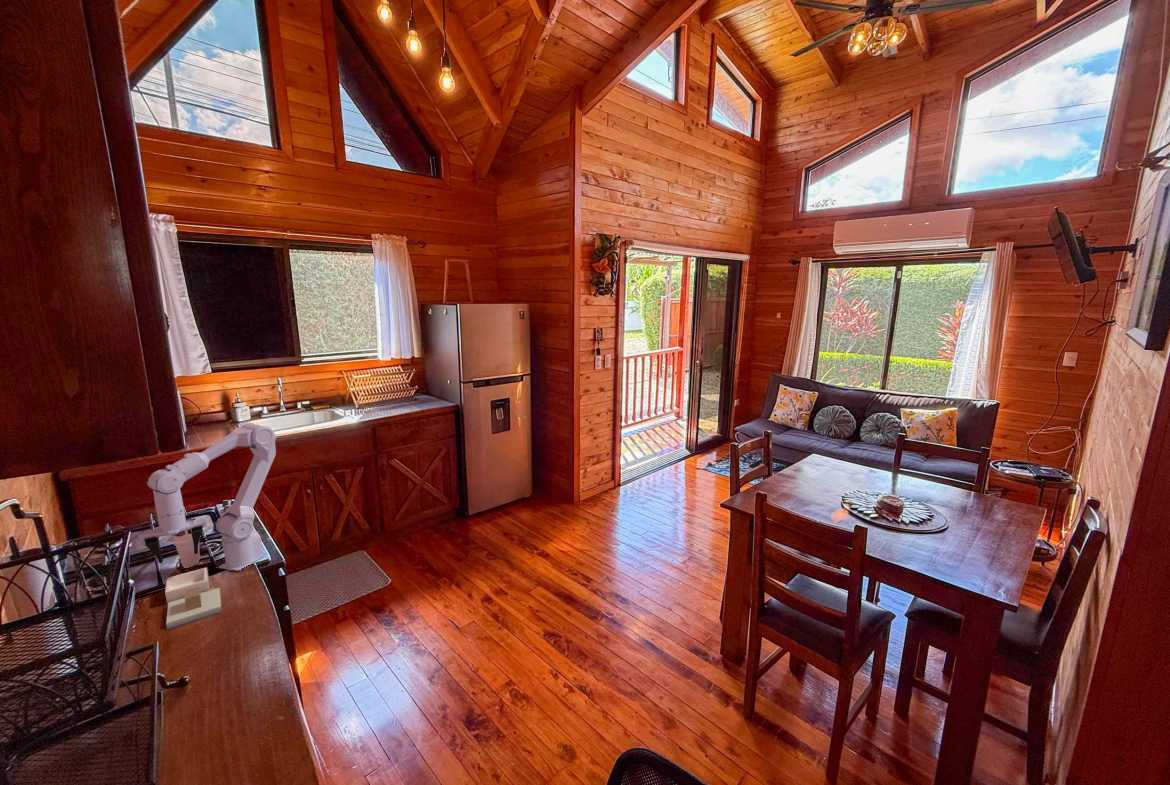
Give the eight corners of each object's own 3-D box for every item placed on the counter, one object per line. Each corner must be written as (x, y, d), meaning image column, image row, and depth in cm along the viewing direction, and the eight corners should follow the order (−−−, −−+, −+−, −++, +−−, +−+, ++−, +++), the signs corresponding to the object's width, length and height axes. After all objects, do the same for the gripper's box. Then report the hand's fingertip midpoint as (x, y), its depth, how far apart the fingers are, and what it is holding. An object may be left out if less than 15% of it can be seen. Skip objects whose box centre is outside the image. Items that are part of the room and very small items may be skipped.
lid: (168, 605, 129) (166, 590, 128) (219, 590, 136) (217, 576, 135) (166, 626, 121) (163, 611, 120) (221, 609, 127) (218, 594, 127)
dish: (169, 589, 137) (166, 578, 137) (208, 577, 143) (206, 567, 142) (167, 604, 130) (165, 592, 130) (209, 591, 136) (207, 580, 135)
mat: (169, 605, 130) (169, 603, 130) (220, 590, 137) (219, 588, 136) (166, 630, 120) (166, 628, 120) (221, 612, 126) (221, 611, 126)
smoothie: (182, 575, 144) (174, 531, 142) (175, 568, 148) (168, 525, 146) (208, 565, 149) (200, 523, 147) (201, 559, 153) (194, 518, 151)
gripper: (133, 524, 126) (143, 571, 129) (203, 509, 135) (211, 554, 138) (136, 515, 132) (145, 561, 134) (203, 501, 141) (210, 544, 143)
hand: (178, 557), depth 136 cm, fingers open, 7 cm apart
